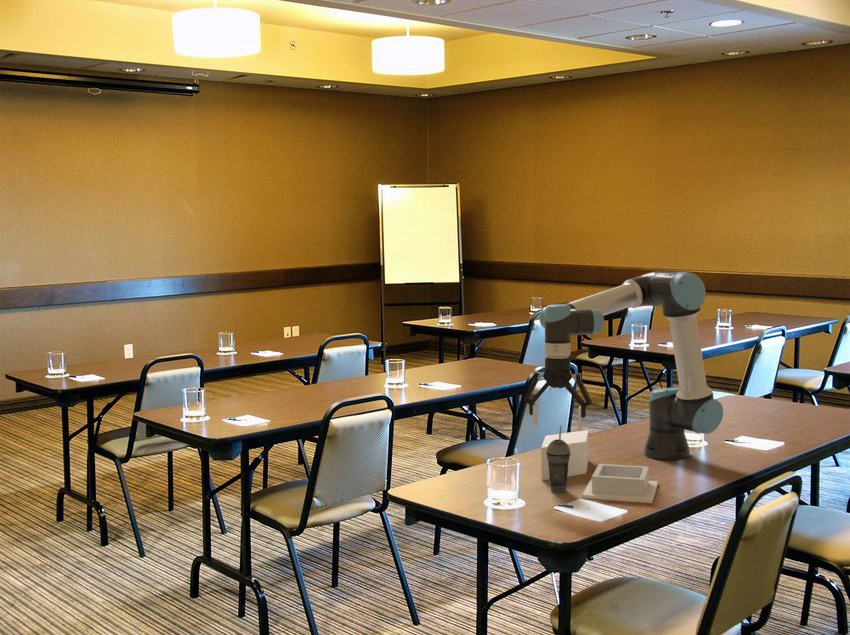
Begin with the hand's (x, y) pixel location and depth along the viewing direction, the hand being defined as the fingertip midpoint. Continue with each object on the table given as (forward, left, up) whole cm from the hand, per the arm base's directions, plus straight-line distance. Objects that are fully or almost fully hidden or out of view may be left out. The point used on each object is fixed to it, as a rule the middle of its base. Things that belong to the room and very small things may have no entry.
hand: (557, 427), depth 280 cm
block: (-24, -2, -20) cm, 31 cm away
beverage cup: (0, 0, -20) cm, 20 cm away
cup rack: (-4, +18, -19) cm, 27 cm away
